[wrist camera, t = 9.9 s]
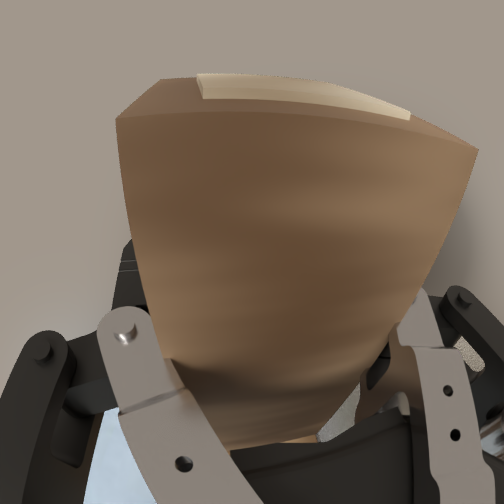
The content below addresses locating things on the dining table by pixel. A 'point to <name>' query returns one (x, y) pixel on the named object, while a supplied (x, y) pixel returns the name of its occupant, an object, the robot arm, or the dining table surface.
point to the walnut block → (281, 238)
